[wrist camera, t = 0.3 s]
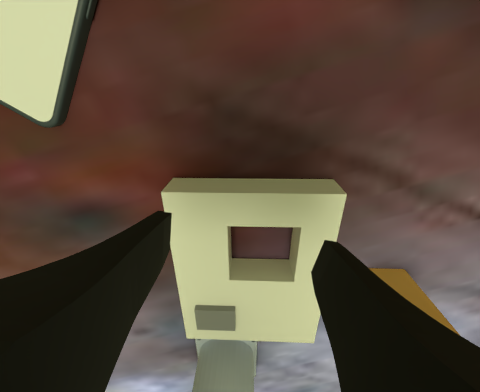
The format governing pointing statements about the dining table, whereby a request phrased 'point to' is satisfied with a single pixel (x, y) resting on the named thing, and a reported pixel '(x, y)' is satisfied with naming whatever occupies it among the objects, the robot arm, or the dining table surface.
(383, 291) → the robot arm
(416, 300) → the plug
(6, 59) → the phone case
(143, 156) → the dining table surface
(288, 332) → the socket plate
